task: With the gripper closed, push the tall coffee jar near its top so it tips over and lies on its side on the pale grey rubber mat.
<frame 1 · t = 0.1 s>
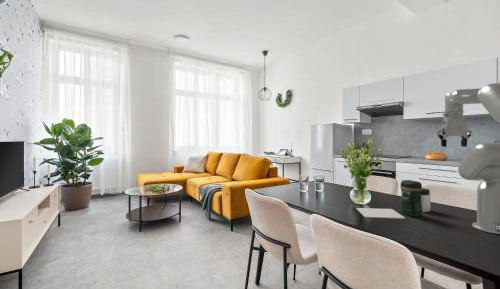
hand: (453, 146, 129), 37 cm above the table, tool pointing down, fingers open, 9 cm apart
jar: (420, 210, 137), on the table
coffee jar: (411, 214, 129), on the table
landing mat: (379, 213, 131), on the table
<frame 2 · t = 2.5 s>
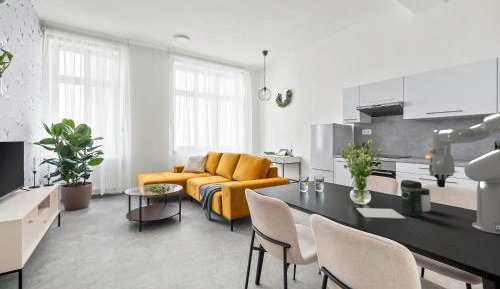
hand: (440, 186, 127), 15 cm above the table, tool pointing down, fingers closed
nothing on the table moved.
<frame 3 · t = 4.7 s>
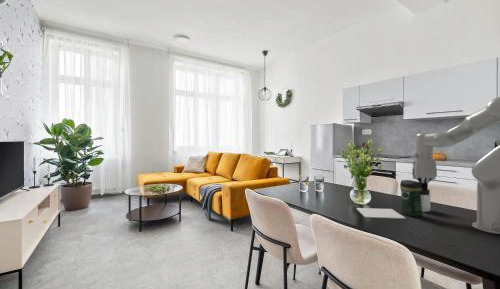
hand: (423, 190, 128), 13 cm above the table, tool pointing down, fingers closed
coffee jar: (411, 214, 129), on the table, touching gripper
everything else where it was.
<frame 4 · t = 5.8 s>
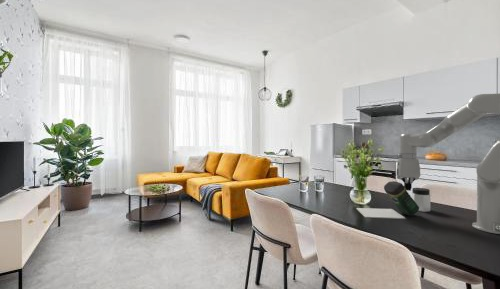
hand: (407, 190, 129), 13 cm above the table, tool pointing down, fingers closed
coffee jar: (410, 210, 129), point 2 cm above the table
everything else where it was.
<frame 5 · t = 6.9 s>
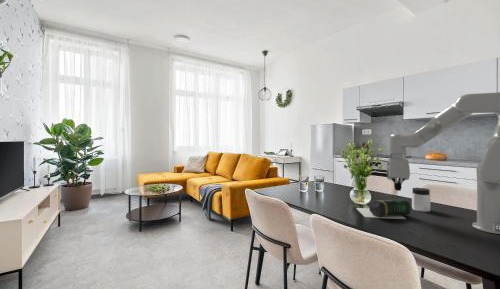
hand: (397, 190, 130), 13 cm above the table, tool pointing down, fingers closed
coffee jar: (404, 206, 128), point 5 cm above the table, touching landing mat
everything else where it was.
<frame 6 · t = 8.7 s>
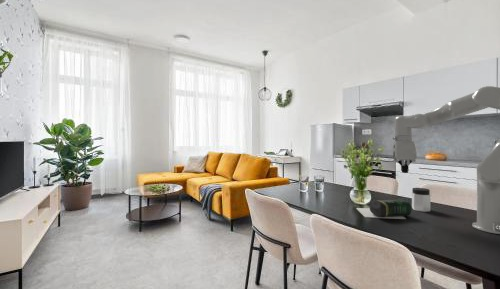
hand: (404, 172, 128), 23 cm above the table, tool pointing down, fingers closed
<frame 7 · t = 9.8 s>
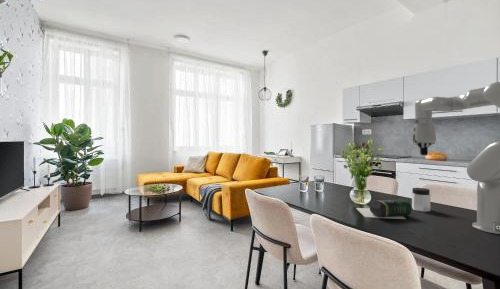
hand: (423, 154, 132), 32 cm above the table, tool pointing down, fingers closed
nothing on the table moved.
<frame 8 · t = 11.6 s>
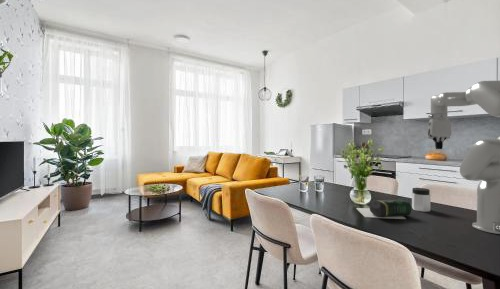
hand: (438, 148, 136), 35 cm above the table, tool pointing down, fingers closed
nothing on the table moved.
at the end: coffee jar tilted 90°; coffee jar inside the target area (10.0 cm from its centre), point 4.5 cm above the table; coffee jar touching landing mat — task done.
